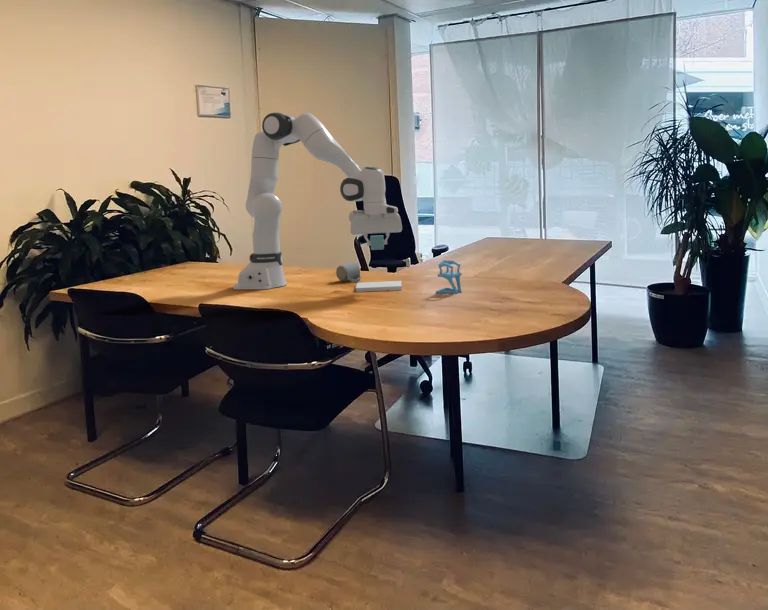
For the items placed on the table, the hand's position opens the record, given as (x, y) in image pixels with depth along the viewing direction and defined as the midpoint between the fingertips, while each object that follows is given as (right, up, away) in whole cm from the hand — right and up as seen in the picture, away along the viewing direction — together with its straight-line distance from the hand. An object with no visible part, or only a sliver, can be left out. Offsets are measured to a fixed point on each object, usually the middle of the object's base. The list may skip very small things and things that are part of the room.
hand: (377, 244), depth 255 cm
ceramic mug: (-12, -14, +24) cm, 30 cm away
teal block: (0, -2, 0) cm, 2 cm away
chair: (+27, -19, -12) cm, 36 cm away
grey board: (+1, -17, +3) cm, 17 cm away
